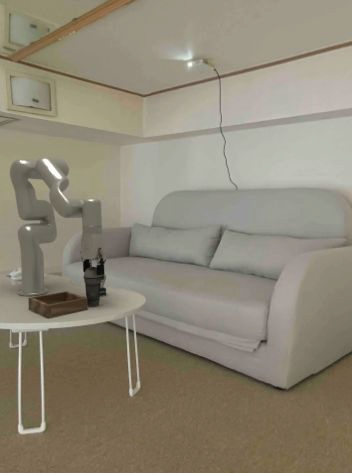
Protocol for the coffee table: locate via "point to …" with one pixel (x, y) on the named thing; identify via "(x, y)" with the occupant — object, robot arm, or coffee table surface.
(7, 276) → the coffee table surface
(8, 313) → the coffee table surface
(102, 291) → the watch
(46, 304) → the walnut tray
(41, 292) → the robot arm
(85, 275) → the beverage cup
